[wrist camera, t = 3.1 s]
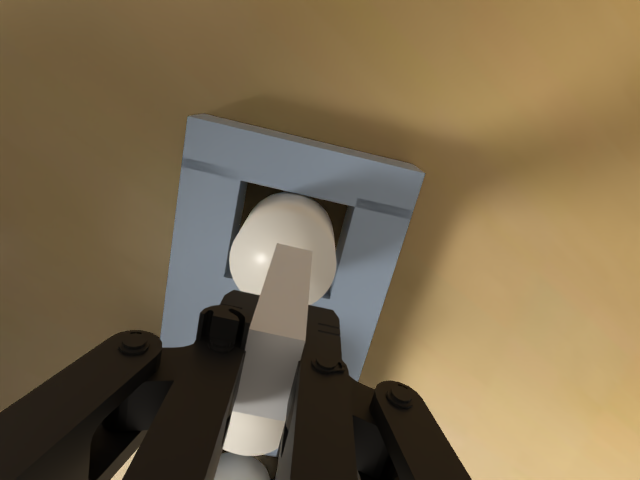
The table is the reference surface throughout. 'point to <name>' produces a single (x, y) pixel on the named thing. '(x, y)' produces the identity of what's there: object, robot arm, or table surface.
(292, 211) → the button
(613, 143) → the table surface
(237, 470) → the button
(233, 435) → the button middle
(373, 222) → the button board
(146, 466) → the robot arm
